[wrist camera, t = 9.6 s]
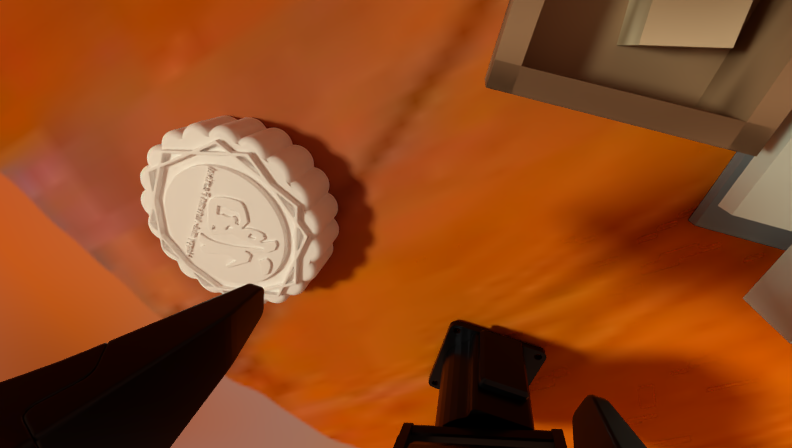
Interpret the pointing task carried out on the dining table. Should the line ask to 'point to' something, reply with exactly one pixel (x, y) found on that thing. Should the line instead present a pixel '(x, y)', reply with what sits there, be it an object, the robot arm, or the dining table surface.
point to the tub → (650, 71)
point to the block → (683, 23)
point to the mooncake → (240, 206)
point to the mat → (729, 224)
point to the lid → (769, 222)
